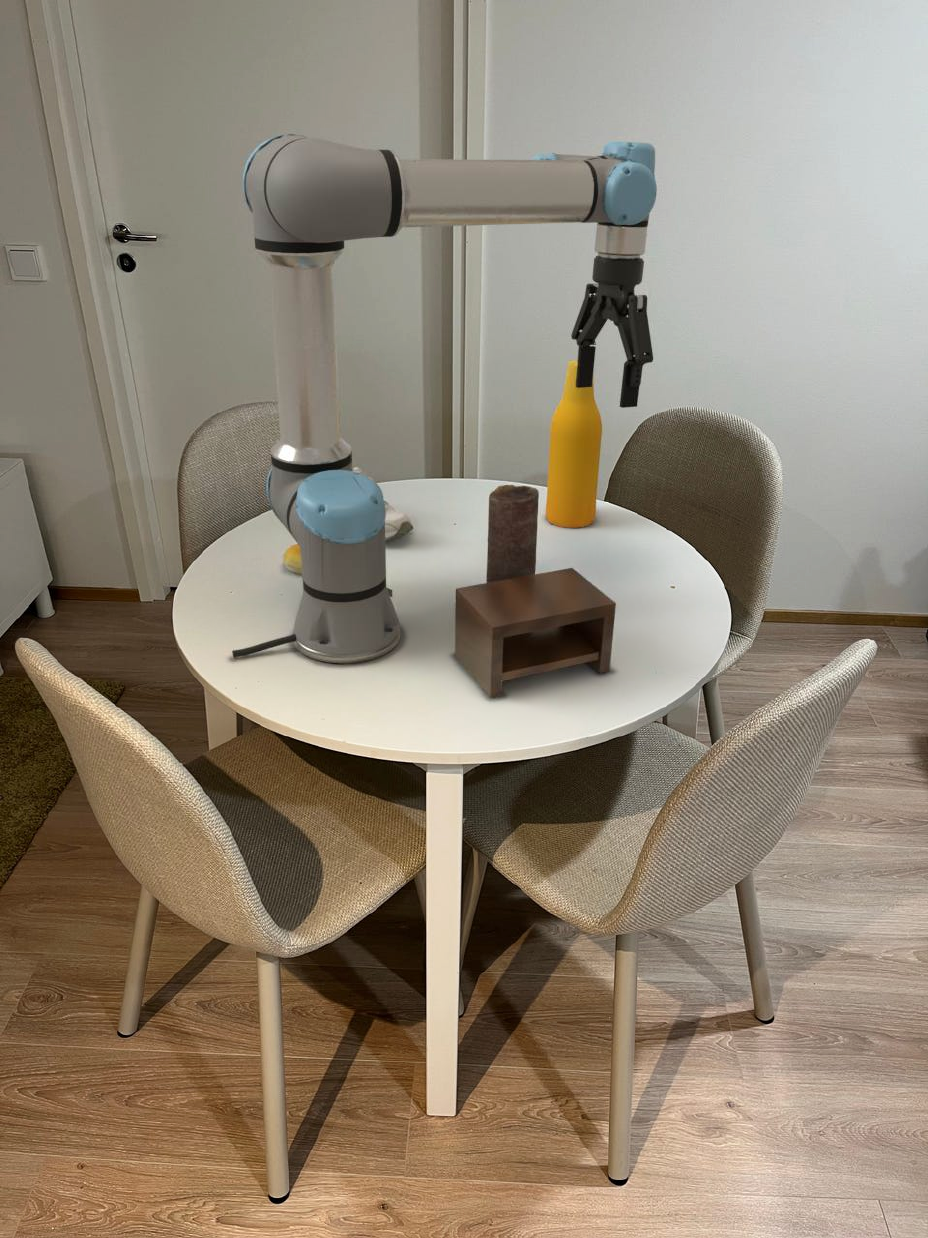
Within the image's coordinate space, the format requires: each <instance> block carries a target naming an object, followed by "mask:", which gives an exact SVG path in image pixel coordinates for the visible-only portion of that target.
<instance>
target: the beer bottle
mask: <svg viewBox="0 0 928 1238" xmlns="http://www.w3.org/2000/svg"><path fill="white" fill-rule="evenodd" d="M577 360H578V359H577ZM577 360H576V359H575V360H571V361H569V362H568V365H567V370H566V377H565V382H564V388H563V394H562V397H561V399H560V402H559V404H558V405H557V406H556V409H555V411H554V413H553V415H552V418H551V422H550V429H549V430H550V431H549V432H550V434H549V450H548V451H549V453H548V469H547V471H548V472H547V486H546V487H547V489H546V502H545V517H546V519H547V521H548V522H549V523H551V524H552V525H554V526H557V527H561V528H569V529H570V528H571V529H577V528H584V527H587V526H589V525H591V524H592V523H593V522H594V520H595V518H596V513H597V496H598V486H599V485H598V484H599V473H600V472H599V471H600V459H601V448H602V436H603V422H602V417H601V416H602V415H601V413H600V410H599V407H598V405H597V403H596V399H595V389H594V386H595V385H594V380H593V381H592V387H583V388H577V387H576V376H577V364H578V362H577Z"/></svg>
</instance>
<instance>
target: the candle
mask: <svg viewBox="0 0 928 1238" xmlns="http://www.w3.org/2000/svg"><path fill="white" fill-rule="evenodd" d="M539 494H540V493H539V489H537V488H536V487H532V486H528V485H518V486H516V485H514V484H504V485H499V486H497V487H496V488H495V489H494V490H492V492H490V493H489V496H488V517H487V518H488V521H487V523H488V524H487V525H488V526H487V554H486V555H487V556H486V559H487V560H486V580H485V581H486V582H485V583H489V582H495V581H501V580H506V579H512V578H517V577H523V576H529V575H534V574H536V568H537V567H536V566H537V546H538V545H537V544H538V543H537V542H538V541H537V540H538V522H539V521H538V519H539V518H538V517H539V516H538V515H539V499H540V498H539V497H540V496H539Z"/></svg>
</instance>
